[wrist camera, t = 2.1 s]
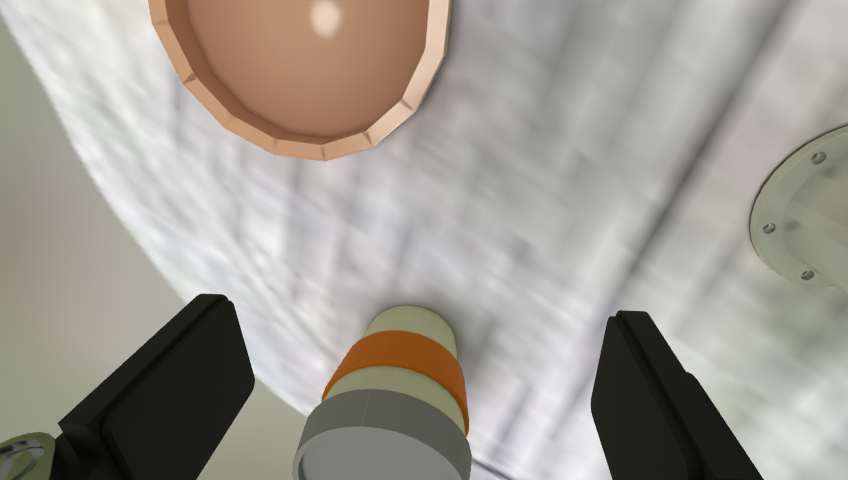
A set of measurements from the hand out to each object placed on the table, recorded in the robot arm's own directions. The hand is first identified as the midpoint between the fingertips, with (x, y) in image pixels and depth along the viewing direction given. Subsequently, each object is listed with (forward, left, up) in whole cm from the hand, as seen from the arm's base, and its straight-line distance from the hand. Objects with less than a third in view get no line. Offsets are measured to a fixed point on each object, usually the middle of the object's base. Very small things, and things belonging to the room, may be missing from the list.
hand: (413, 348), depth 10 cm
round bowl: (+8, -12, -24) cm, 28 cm away
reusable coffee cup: (+10, +18, -24) cm, 32 cm away
